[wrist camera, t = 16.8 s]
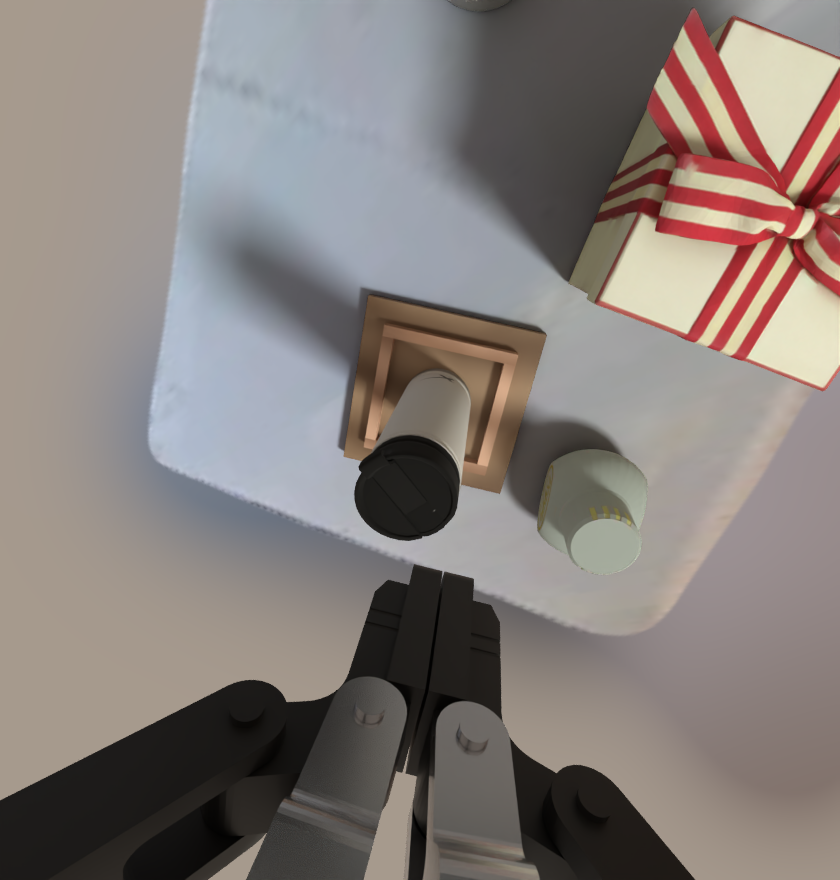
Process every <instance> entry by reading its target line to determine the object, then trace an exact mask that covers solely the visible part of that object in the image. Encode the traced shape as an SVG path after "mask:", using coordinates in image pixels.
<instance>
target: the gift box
mask: <svg viewBox="0 0 840 880" xmlns="http://www.w3.org/2000/svg"><path fill="white" fill-rule="evenodd" d="M569 284H570V285H573V286H575V287H577V288H578V289H580V290H582V291H584V292H586V293H587V294H588V296H587V299H588V300H589V301H591V302H592V303H594V304H596V305H598V306H601V307H604V308H607V309H609V310H612V311H614V312H617V313H620V314H622V315H625V316H628V317H630V318H633V319H636V320H638V321H641V322H644V323H646V324H649V325H651V326H654V327H657V328H659V329H662V330H665V331H667V332H670V333H673V334H675V335H677V336H679V337H681V338H683V339H685V340H688V341H691V342H694V343H697V344H700V345H702V346H705V347H708V348H711V349H714V350H716V351H719V352H721V353H723V354H725V355H727V356H730V357H732V358H735V359H738V360H742V361H746V362H748V363H751V364H754V365H756V366H759V367H761V368H764V369H766V370H769V371H772V372H774V373H777V374H779V375H782V376H785V377H787V378H790V379H792V380H795V381H798V382H800V383H803V384H805V385H808V386H810V387H812V388H815V389H817V390H820V391H825V390H826V389H827V388H828V386H829V385H830V383H831V382H832V380H833V379H834V377H835V376H836V374H837V373H838V372H839V370H840V57H838V56H835V55H833V54H830V53H828V52H825V51H823V50H821V49H818V48H816V47H813V46H810V45H808V44H805V43H803V42H800V41H798V40H795V39H793V38H790V37H788V36H785V35H782V34H780V33H777V32H774V31H771V30H769V29H766V28H764V27H761V26H759V25H756V24H754V23H751V22H749V21H746V20H744V19H741V18H738V17H736V16H732V17H730V18H729V19H728V20H727V21H726V22H725V23H724V24H722V25H721V26H720V27H719V28H718V29H717V30H716V31H715V32H714V33H713V34H712V35H711V36H710V37H709V36H708V34H707V32H706V30H705V28H704V25H703V23H702V21H701V19H700V17H699V14H698V12H697V11H696V9H695V8H692V9H691V10H690V13H689V15H688V17H687V19H686V21H685V23H684V25H683V26H682V29H681V31H680V33H679V36H678V38H677V40H676V42H674V43H673V47H672V49H671V51H670V54H669V57H668V59H667V61H666V63H665V65H664V67H663V68H662V69H661V72H660V74H659V76H658V78H657V80H656V83H655V84H654V87H653V90H652V92H651V94H650V98H649V100H648V103H647V109H646V111H645V113H644V115H643V117H642V119H641V122H640V124H639V126H638V128H637V130H636V132H635V135H634V137H633V139H632V141H631V143H630V145H629V148H628V150H627V152H626V154H625V156H624V158H623V161H622V163H621V165H620V167H619V169H618V171H617V174H616V176H615V177H614V179H613V181H612V183H611V185H610V187H609V189H608V191H607V193H606V195H605V198H604V200H603V203H602V205H601V207H600V209H599V212H598V214H597V217H596V219H595V222H594V225H593V227H592V229H591V232H590V234H589V236H588V238H587V241H586V243H585V245H584V247H583V250H582V252H581V254H580V257H579V259H578V261H577V264H576V266H575V268H574V271H573V273H572V275H571V278H570V280H569Z"/></svg>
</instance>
